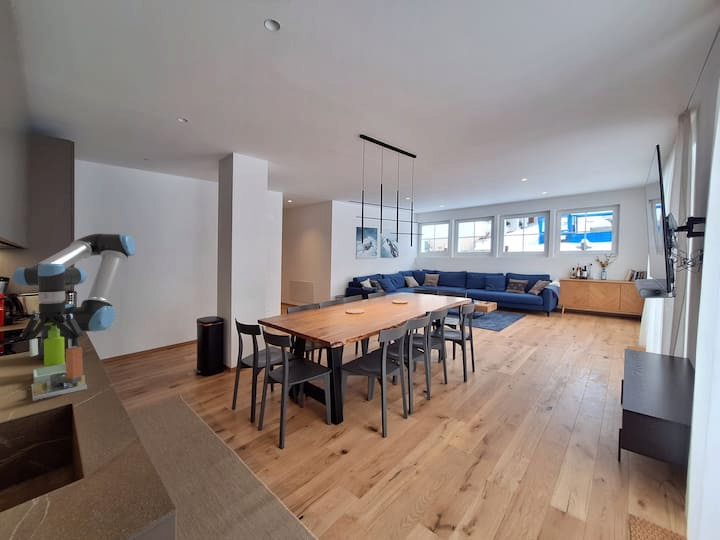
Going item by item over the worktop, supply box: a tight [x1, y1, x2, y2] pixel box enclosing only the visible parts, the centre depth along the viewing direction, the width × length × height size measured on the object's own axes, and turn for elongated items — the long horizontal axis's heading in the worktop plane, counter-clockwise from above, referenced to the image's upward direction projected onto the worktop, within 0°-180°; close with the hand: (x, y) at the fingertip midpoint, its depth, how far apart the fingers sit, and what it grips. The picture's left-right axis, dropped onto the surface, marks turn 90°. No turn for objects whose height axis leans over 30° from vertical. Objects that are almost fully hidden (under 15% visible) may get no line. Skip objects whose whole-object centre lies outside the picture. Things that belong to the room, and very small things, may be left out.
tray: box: [32, 362, 66, 384], centre depth 117 cm, size 12×12×4 cm
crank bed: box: [31, 374, 88, 402], centre depth 107 cm, size 14×13×4 cm
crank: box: [50, 346, 84, 386], centre depth 107 cm, size 11×4×13 cm, turn 78°
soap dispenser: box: [43, 322, 66, 367], centre depth 123 cm, size 6×7×20 cm
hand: (53, 355), depth 123 cm, fingers open, 13 cm apart
